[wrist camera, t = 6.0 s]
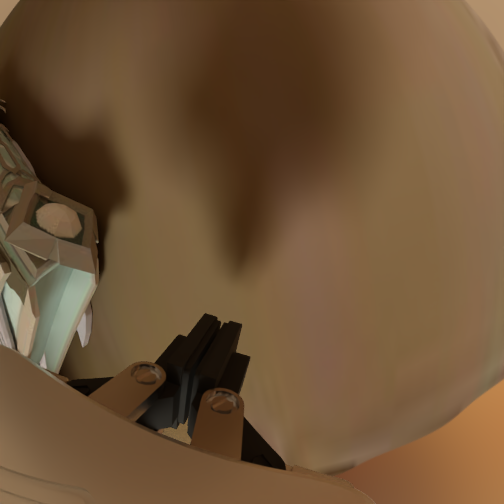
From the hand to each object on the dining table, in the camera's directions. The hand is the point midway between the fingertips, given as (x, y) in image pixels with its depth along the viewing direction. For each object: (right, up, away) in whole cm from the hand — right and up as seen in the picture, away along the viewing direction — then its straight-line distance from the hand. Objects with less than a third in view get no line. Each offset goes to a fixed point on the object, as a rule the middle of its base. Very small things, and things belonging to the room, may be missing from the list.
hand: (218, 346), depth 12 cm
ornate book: (-23, +6, +7) cm, 24 cm away
